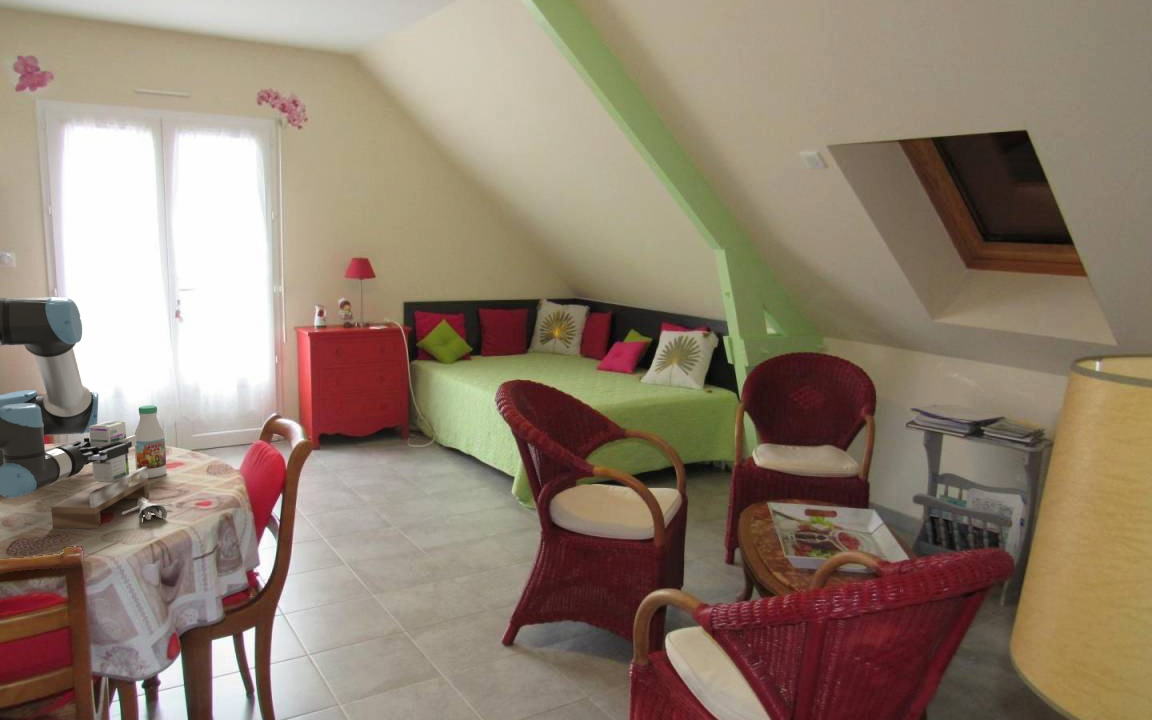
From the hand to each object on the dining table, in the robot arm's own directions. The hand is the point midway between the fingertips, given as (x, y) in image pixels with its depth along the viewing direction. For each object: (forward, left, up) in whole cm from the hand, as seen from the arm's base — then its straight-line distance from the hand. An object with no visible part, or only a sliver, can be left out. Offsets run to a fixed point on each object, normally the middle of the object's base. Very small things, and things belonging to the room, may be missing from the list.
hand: (121, 439), depth 207 cm
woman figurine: (+12, +12, -16) cm, 23 cm away
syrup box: (+5, 0, -9) cm, 11 cm away
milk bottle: (-21, -4, -16) cm, 27 cm away
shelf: (+10, 0, -16) cm, 19 cm away
